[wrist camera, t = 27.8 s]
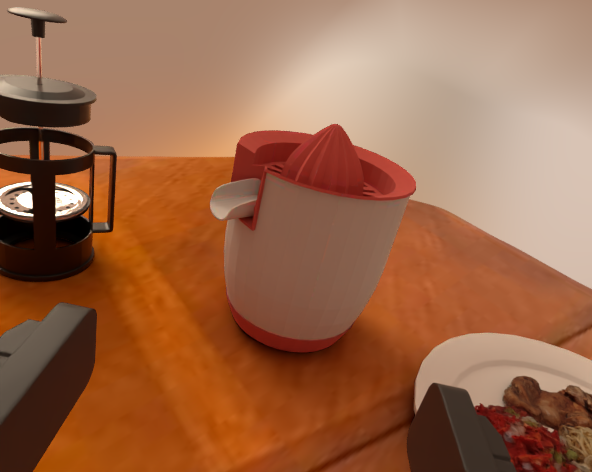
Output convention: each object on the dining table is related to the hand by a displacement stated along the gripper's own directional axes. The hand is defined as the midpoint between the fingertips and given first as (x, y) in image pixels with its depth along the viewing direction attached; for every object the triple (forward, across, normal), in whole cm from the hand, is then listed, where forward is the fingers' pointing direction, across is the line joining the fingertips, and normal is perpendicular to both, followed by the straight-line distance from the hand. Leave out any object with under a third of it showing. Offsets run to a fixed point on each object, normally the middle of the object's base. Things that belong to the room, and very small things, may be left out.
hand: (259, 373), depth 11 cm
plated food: (+18, -29, +20) cm, 39 cm away
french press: (+32, +22, +20) cm, 44 cm away
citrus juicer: (+30, -2, +20) cm, 36 cm away
